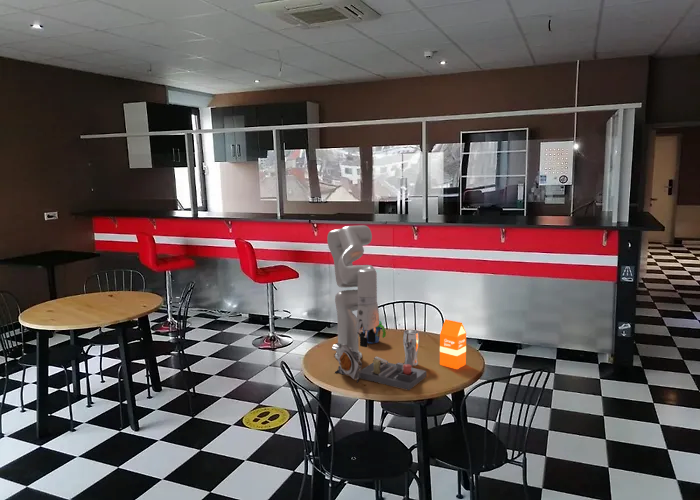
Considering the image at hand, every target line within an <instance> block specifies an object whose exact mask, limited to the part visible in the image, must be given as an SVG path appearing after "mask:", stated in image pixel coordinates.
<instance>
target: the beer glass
mask: <svg viewBox="0 0 700 500" xmlns="http://www.w3.org/2000/svg"><path fill="white" fill-rule="evenodd" d="M419 332H420V331H419V330H417V329H412V328H411V329H406V330H403V341H402V342H403V349H404V354H405V355H404V363H403V364H404V365H405V364H409V365H411V367H417V366H418V365H419V362H418V353H419V346H420V345H419V344H420V333H419Z"/></svg>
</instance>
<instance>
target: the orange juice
mask: <svg viewBox="0 0 700 500" xmlns="http://www.w3.org/2000/svg"><path fill="white" fill-rule="evenodd" d="M443 321H444V322H443V325H442V327H441V330H440V333H439V365H440V366H443V367H447V368H451V369H454V370H459V369H460V368H462V367H464V366H466V364H467V363H466V362H467V360H466V359H467V332H466V329H465V327H464V324H463V323H462V322H460V321H455V320H451V319H446V318H445V319H444V320H443Z"/></svg>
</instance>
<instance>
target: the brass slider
mask: <svg viewBox="0 0 700 500" xmlns="http://www.w3.org/2000/svg"><path fill="white" fill-rule="evenodd" d="M373 362H374V373H375V374H380V362H381V360H378V359H374V358H373V360H372V363H373Z"/></svg>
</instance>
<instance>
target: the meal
mask: <svg viewBox="0 0 700 500" xmlns="http://www.w3.org/2000/svg"><path fill="white" fill-rule="evenodd" d="M335 345H337V346H338V348H339V349H340V350H341V351H340V354H339V357H338V359H336V360H337V362H338V365H339V366H338V367H337V370H335V371H334V372H335V373H334V374H341V375H346V376H349V377H351V379H353V380H356V383H359V381H360V379H361V376H360V378H359V374H360V372H361V370H362V366H363V363H362V361H361V358H360V359H359V353H358V352H354V350H353V349H352V348H351V347H349V346H347V345H346V344H339V343H338V342H336V343H335ZM359 371H360V372H359Z"/></svg>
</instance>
